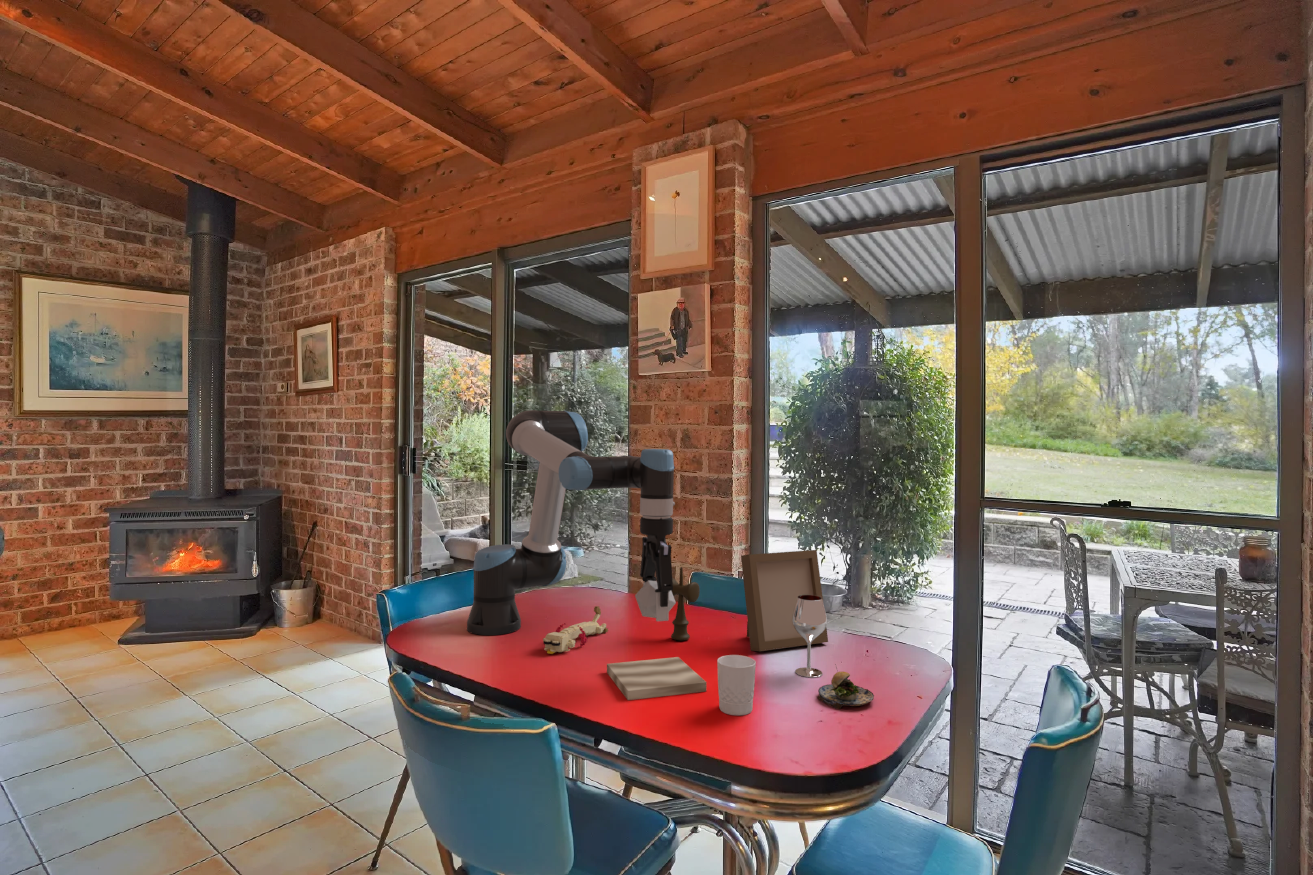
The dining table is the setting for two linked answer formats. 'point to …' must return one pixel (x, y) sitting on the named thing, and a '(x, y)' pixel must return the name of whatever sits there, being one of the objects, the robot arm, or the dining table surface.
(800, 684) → the dining table surface
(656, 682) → the birch board
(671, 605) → the die
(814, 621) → the wineglass
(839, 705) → the burger
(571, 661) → the dining table surface
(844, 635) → the dining table surface
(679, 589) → the kendama
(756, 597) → the photo frame
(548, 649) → the cat figure
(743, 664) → the white cup
